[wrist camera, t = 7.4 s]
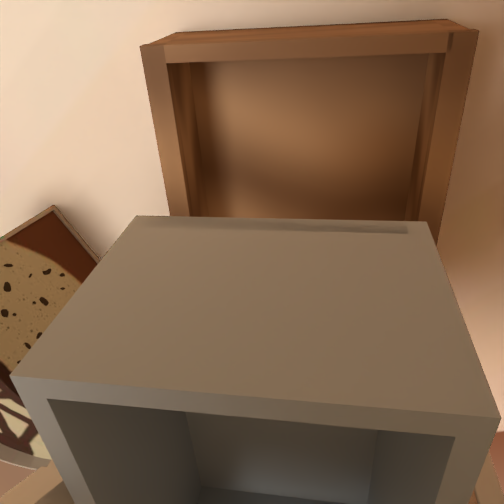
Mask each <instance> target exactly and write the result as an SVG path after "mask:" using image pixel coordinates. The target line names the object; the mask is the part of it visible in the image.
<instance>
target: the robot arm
mask: <svg viewBox="0 0 504 504" xmlns="http://www.w3.org/2000/svg"><path fill="white" fill-rule="evenodd" d="M0 504H75V503H74V501H73V499H72V497H71V495H70V493H69V491H68V489H67V487H66V485H65V483H64V481H63V479H62V477H61V475H60V473H59V472H58V470H57V468H56V466H55V464H54V462H53V460H52V459H51V461H50V463H49V464H48V466H47V467H40V468H39V469H37V470H36V471H35V472H33V473H32V474H31V475H29V476H28V477H27V478H25V479H24V480H23V481H21V482H20V483H19V484H17V485H16V486H15V487H13V488H12V489H11V490H10V491H8V492H7V493H5V494H4V495H3V496H2V497H0ZM468 504H504V494H503V491H502V488H501V485H500V482H499V479H498V476H497V473H496V471H495V468H494V464H493V461H492V459H491V456H490V452H489V451H488V454H487V456H486V459H485V462H484V464H483V467H482V469H481V472H480V474H479V477H478V480H477V482H476V485H475V487H474V490H473V492H472V495H471V498H470V500H469V503H468Z"/></svg>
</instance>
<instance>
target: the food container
mask: <svg viewBox="0 0 504 504" xmlns="http://www.w3.org/2000/svg"><path fill="white" fill-rule="evenodd" d="M99 262H100V260H99V258H98V257H97V256H96V255H95V254H94V252H93V251H92V250H91V249H90V248H89V246H88V245H87V244H86V243H85V242H84V240H83V239H82V238H81V237H80V236H79V234H78V233H77V232H76V231H75V230H74V228H73V227H72V226H71V225H70V224H69V222H68V221H67V220H66V219H65V218H64V217H63V215H62V214H61V213H60V212H59V211H58V209H57V208H56V207H55V206H54V205H53V206H51V207H49V208H48V209H46V210H44V211H43V212H41V213H40V214H38V215H36V216H35V217H33V218H31V219H30V220H28V221H27V222H25V223H23V224H22V225H20V226H18V227H17V228H15V229H14V230H12V231H10V232H9V233H7V234H5V235H4V236H2V237H1V238H0V461H3V462H6V463H9V464H12V465H16V466H20V467H24V468H27V469H32V470H37V469H39V468H40V467H47V466H48V464H49V463H50V461H51V459H52V458H51V456H50V454H49V452H48V450H47V448H46V446H45V444H44V442H43V440H42V438H41V436H40V435H39V433H38V431H37V429H36V427H35V425H34V423H33V421H32V419H31V417H30V415H29V413H28V411H27V409H26V407H25V405H24V403H23V401H22V400H21V398H20V396H19V394H18V392H17V390H16V388H15V386H14V384H13V382H12V380H11V378H10V376H9V375H10V374H11V373H12V372H13V370H14V369H15V368H16V367H17V365H18V364H19V363H20V361H21V360H22V359H23V358H24V356H25V355H26V354H27V353H28V351H29V350H30V349H31V348H32V346H33V345H34V344H35V343H36V341H37V340H38V339H39V338H40V336H41V335H42V334H43V333H44V331H45V330H46V329H47V327H48V326H49V325H50V324H51V322H52V321H53V320H54V319H55V317H56V316H57V315H58V314H59V312H60V311H61V310H62V309H63V307H64V306H65V305H66V304H67V302H68V301H69V300H70V299H71V297H72V296H73V295H74V293H75V292H76V291H77V290H78V288H79V287H80V286H81V285H82V283H83V282H84V281H85V280H86V278H87V277H88V276H89V275H90V273H91V272H92V271H93V270H94V268H95V267H96V266H97V265H98V263H99Z"/></svg>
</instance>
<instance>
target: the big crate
mask: <svg viewBox="0 0 504 504" xmlns="http://www.w3.org/2000/svg"><path fill="white" fill-rule="evenodd" d="M478 34H479V31H478V30H476V29H468V28H466V27H464V26H461V25H459V24H457V23H455V22H452V21H450V20H448V19H436V20H416V21H396V22H376V23H356V24H336V25H316V26H295V27H275V28H255V29H235V30H215V31H195V32H176V33H174V34H171V35H169V36H166V37H164V38H162V39H159V40H157V41H155V42H152V43H150V44H144V45H142V46H140V51H141V56H142V62H143V67H144V73H145V79H146V84H147V90H148V95H149V101H150V106H151V112H152V117H153V123H154V128H155V134H156V139H157V145H158V150H159V156H160V161H161V167H162V173H163V178H164V184H165V189H166V195H167V200H168V206H169V211H170V216H181V217H229V218H277V219H326V220H374V221H422V222H427V224H428V227H429V229H430V232H431V235H432V237H433V240H434V242H435V245H437V240H438V235H439V230H440V225H441V220H442V215H443V210H444V205H445V200H446V195H447V190H448V185H449V180H450V175H451V170H452V165H453V160H454V155H455V150H456V145H457V140H458V135H459V130H460V125H461V120H462V115H463V110H464V105H465V100H466V95H467V90H468V85H469V80H470V75H471V70H472V64H473V59H474V54H475V49H476V44H477V39H478Z"/></svg>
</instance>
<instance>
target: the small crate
mask: <svg viewBox="0 0 504 504" xmlns="http://www.w3.org/2000/svg"><path fill="white" fill-rule="evenodd" d="M9 376H10V378H11V380H12V382H13V384H14V386H15V388H16V390H17V392H18V394H19V396H20V398H21V400H22V401H23V403H24V405H25V407H26V409H27V411H28V413H29V415H30V417H31V419H32V421H33V423H34V425H35V427H36V429H37V431H38V433H39V435H40V436H41V438H42V440H43V442H44V444H45V446H46V448H47V450H48V452H49V454H50V456H51V458H52V460H53V462H54V464H55V466H56V468H57V470H58V472H59V473H60V475H61V477H62V479H63V481H64V483H65V485H66V487H67V489H68V491H69V493H70V495H71V497H72V499H73V501H74V503H75V504H468V503H469V500H470V498H471V495H472V492H473V490H474V487H475V485H476V482H477V480H478V477H479V474H480V472H481V469H482V467H483V464H484V462H485V459H486V456H487V454H488V451H489V448H490V446H491V443H492V441H493V438H494V436H495V433H496V431H497V428H498V425H499V423H500V420H501V416H500V413H499V411H498V408H497V405H496V403H495V400H494V397H493V395H492V392H491V390H490V387H489V384H488V382H487V379H486V376H485V374H484V371H483V369H482V366H481V363H480V361H479V358H478V355H477V353H476V350H475V348H474V345H473V342H472V340H471V337H470V334H469V332H468V329H467V326H466V324H465V321H464V319H463V316H462V313H461V311H460V308H459V305H458V303H457V300H456V298H455V295H454V292H453V290H452V287H451V284H450V282H449V279H448V277H447V274H446V271H445V269H444V266H443V263H442V261H441V258H440V256H439V253H438V250H437V248H436V245H435V242H434V240H433V237H432V235H431V232H430V229H429V227H428V224H427V222H422V221H374V220H326V219H277V218H229V217H181V216H136V217H135V218H134V219H133V220H132V222H131V223H130V224H129V225H128V227H127V228H126V229H125V230H124V232H123V233H122V234H121V236H120V237H119V238H118V239H117V241H116V242H115V243H114V244H113V246H112V247H111V248H110V249H109V251H108V252H107V253H106V254H105V256H104V257H103V258H102V259H101V261H100V262H99V263H98V265H97V266H96V267H95V268H94V270H93V271H92V272H91V273H90V275H89V276H88V277H87V278H86V280H85V281H84V282H83V283H82V285H81V286H80V287H79V288H78V290H77V291H76V292H75V293H74V295H73V296H72V297H71V299H70V300H69V301H68V302H67V304H66V305H65V306H64V307H63V309H62V310H61V311H60V312H59V314H58V315H57V316H56V317H55V319H54V320H53V321H52V322H51V324H50V325H49V326H48V327H47V329H46V330H45V331H44V333H43V334H42V335H41V336H40V338H39V339H38V340H37V341H36V343H35V344H34V345H33V346H32V348H31V349H30V350H29V351H28V353H27V354H26V355H25V356H24V358H23V359H22V360H21V361H20V363H19V364H18V365H17V367H16V368H15V369H14V370H13V372H12V373H11V374H10V375H9Z"/></svg>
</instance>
